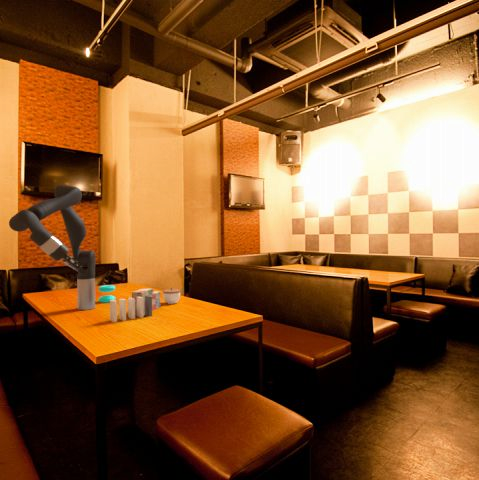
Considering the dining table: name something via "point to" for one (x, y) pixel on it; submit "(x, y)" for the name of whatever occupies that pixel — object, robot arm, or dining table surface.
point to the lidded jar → (171, 295)
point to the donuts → (108, 297)
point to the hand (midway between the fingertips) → (84, 273)
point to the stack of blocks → (145, 292)
